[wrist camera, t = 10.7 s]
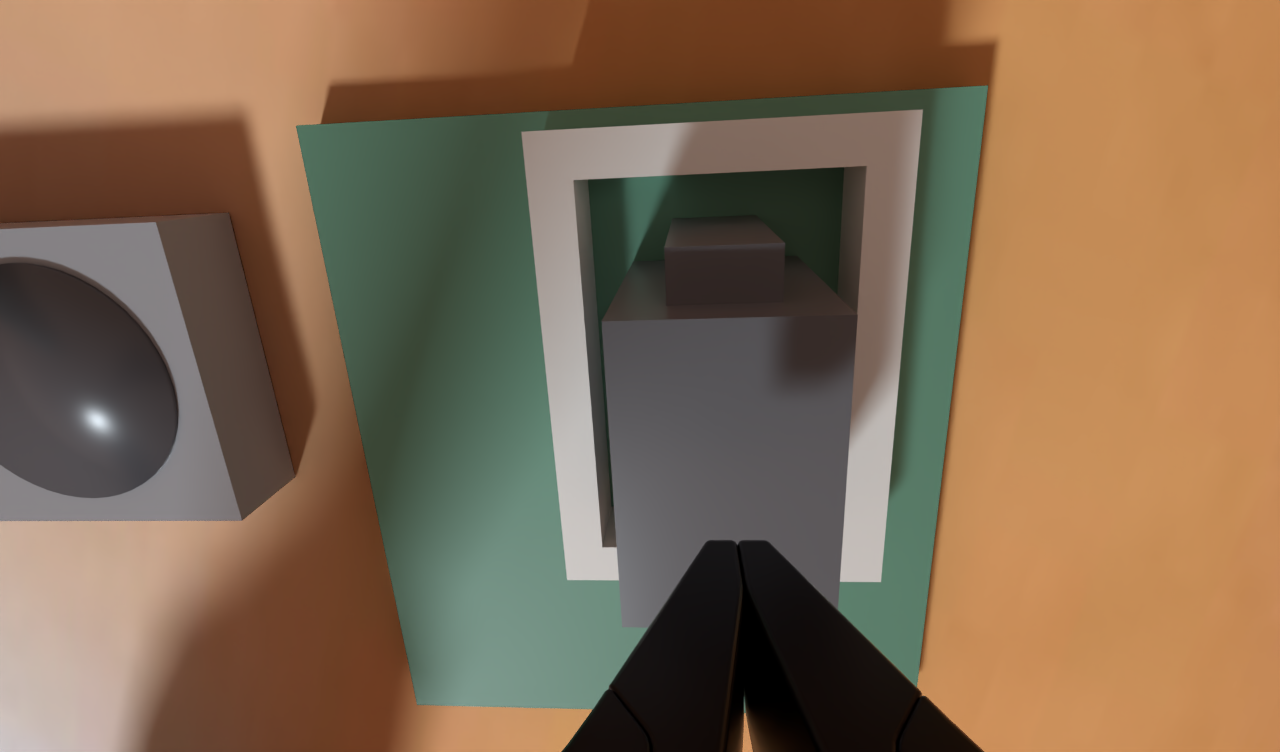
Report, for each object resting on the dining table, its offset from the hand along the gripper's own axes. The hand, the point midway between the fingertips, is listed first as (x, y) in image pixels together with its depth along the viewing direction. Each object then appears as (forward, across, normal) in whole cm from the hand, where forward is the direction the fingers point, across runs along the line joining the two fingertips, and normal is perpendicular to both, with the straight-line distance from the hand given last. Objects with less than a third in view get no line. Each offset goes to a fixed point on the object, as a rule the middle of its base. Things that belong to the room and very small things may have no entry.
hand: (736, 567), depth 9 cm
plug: (+8, 0, 0) cm, 8 cm away
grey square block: (+9, +17, -1) cm, 19 cm away
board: (+9, +2, +2) cm, 10 cm away
